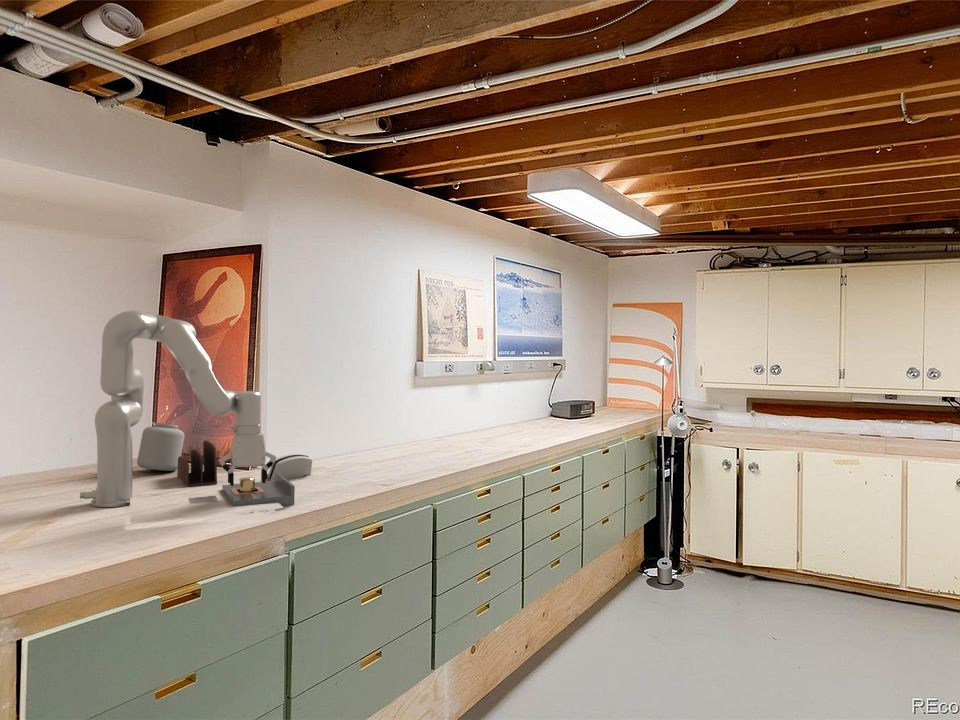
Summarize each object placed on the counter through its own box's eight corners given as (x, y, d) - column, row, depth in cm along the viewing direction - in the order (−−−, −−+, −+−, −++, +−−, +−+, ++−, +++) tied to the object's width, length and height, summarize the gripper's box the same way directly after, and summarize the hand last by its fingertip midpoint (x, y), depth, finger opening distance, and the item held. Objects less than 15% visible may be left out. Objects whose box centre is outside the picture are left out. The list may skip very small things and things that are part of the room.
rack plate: (233, 511, 195) (233, 491, 195) (222, 494, 216) (222, 476, 216) (294, 504, 204) (294, 485, 203) (278, 489, 225) (278, 471, 224)
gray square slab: (190, 508, 197) (190, 503, 196) (188, 502, 204) (188, 498, 203) (218, 506, 200) (218, 501, 200) (215, 500, 207) (215, 495, 207)
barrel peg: (240, 502, 205) (241, 480, 205) (238, 499, 209) (238, 477, 209) (255, 501, 207) (256, 479, 207) (253, 498, 211) (253, 476, 211)
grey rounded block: (303, 472, 254) (309, 449, 251) (310, 478, 251) (315, 455, 249) (264, 478, 241) (270, 454, 239) (271, 485, 238) (276, 460, 236)
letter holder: (205, 475, 247) (205, 437, 246) (217, 485, 230) (217, 445, 230) (176, 477, 241) (177, 439, 241) (186, 488, 225) (187, 447, 224)
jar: (169, 465, 264) (170, 403, 263) (196, 468, 258) (197, 405, 258) (127, 473, 247) (128, 407, 246) (156, 477, 241) (156, 409, 240)
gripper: (220, 433, 200) (220, 488, 201) (278, 430, 209) (277, 483, 209) (217, 430, 207) (217, 483, 207) (273, 427, 215) (273, 479, 216)
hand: (247, 483), depth 208 cm, fingers open, 9 cm apart
